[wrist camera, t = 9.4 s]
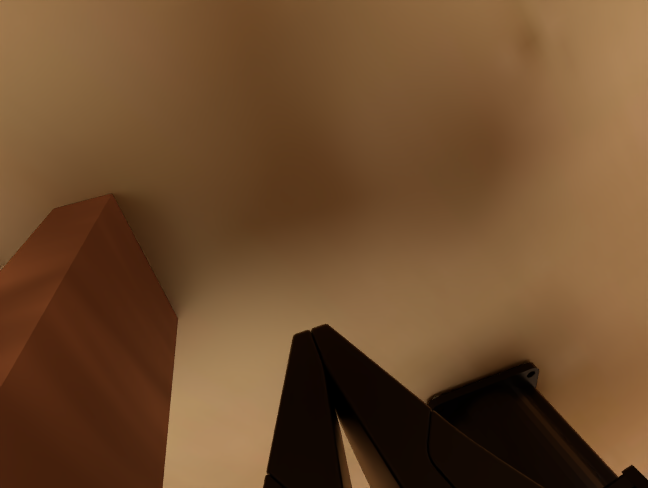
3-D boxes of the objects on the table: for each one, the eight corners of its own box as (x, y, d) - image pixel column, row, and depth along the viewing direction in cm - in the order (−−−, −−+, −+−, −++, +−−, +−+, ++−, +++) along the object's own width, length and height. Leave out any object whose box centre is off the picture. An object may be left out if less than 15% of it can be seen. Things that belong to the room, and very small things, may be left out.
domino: (111, 193, 11) (-39, 457, 4) (178, 319, 13) (151, 605, 7) (54, 208, 11) (-208, 515, 4) (132, 333, 13) (58, 644, 6)
